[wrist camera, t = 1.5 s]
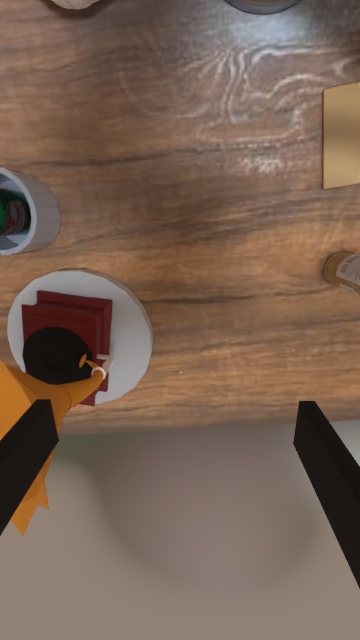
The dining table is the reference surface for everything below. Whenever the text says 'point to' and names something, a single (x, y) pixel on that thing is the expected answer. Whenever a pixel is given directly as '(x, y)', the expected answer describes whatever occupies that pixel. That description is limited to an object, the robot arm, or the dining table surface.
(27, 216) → the green can
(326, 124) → the coaster
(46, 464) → the gramophone
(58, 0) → the white rock
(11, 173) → the grey cylinder
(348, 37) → the dining table surface
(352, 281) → the sprinkles bottle
